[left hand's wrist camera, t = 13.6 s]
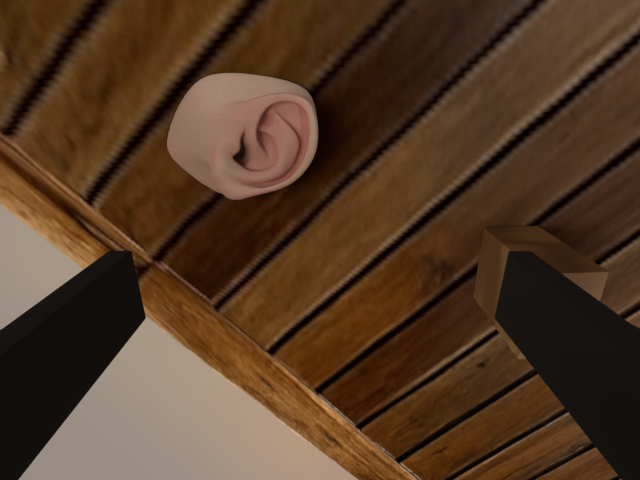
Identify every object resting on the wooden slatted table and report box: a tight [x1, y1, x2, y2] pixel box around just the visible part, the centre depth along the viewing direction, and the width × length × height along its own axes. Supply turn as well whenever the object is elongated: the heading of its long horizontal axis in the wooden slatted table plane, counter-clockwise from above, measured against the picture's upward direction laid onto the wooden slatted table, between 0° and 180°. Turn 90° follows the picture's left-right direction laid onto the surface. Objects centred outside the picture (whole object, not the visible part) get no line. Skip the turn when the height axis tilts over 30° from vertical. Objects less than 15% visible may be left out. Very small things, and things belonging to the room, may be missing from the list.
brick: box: [473, 226, 609, 359], centre depth 34 cm, size 5×8×10 cm, turn 2°
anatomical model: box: [167, 73, 318, 200], centre depth 31 cm, size 13×4×12 cm
